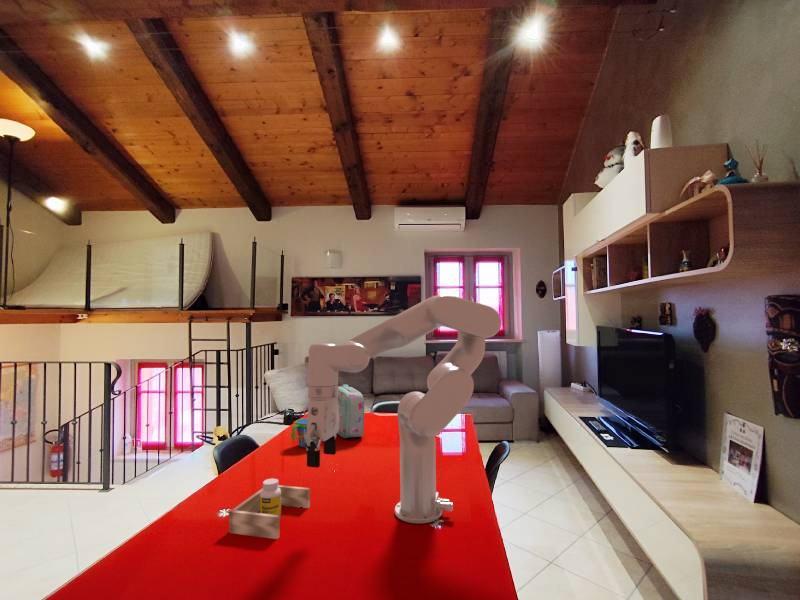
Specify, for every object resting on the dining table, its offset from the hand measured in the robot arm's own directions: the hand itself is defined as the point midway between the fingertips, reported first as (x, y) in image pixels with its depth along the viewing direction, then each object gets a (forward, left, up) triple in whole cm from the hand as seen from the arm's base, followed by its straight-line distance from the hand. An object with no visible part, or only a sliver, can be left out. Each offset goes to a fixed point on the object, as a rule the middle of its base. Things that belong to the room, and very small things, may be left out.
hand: (321, 460), depth 102 cm
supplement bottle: (+15, 0, -16) cm, 22 cm away
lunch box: (+25, -80, -16) cm, 85 cm away
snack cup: (+34, -60, -16) cm, 70 cm away
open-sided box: (+14, 0, -16) cm, 21 cm away
